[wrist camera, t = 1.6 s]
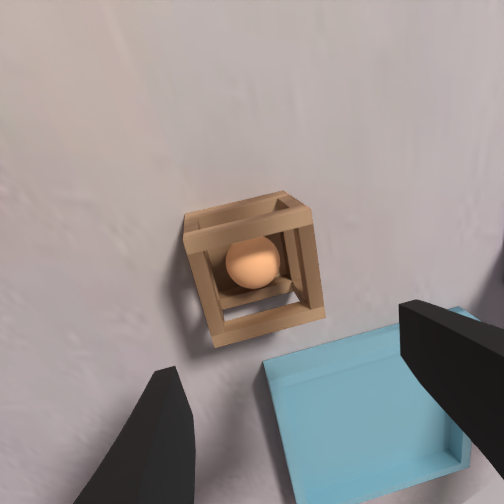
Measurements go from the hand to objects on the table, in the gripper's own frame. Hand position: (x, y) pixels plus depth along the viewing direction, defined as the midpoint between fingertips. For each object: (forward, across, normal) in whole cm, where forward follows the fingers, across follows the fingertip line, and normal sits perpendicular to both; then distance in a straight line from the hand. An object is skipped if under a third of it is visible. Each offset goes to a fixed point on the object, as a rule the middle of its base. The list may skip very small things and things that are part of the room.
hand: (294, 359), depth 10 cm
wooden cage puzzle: (+11, 0, 0) cm, 11 cm away
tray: (+10, -7, +16) cm, 20 cm away
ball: (+8, 0, 0) cm, 9 cm away
